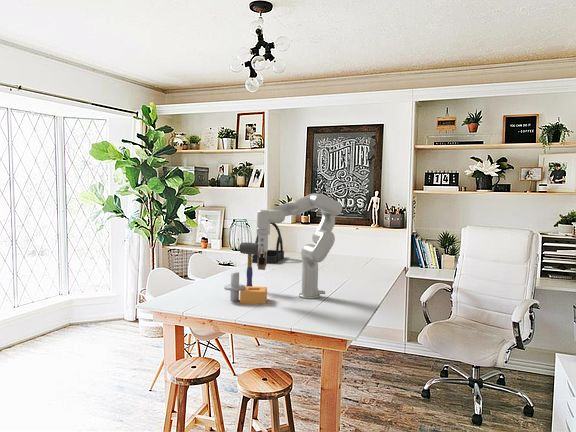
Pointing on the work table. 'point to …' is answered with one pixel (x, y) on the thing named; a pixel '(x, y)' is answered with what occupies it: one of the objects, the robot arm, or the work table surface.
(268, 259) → the basket
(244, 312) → the work table surface
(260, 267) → the tan wooden block
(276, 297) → the work table surface
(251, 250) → the rubber mallet
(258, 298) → the orange block with cylinder
